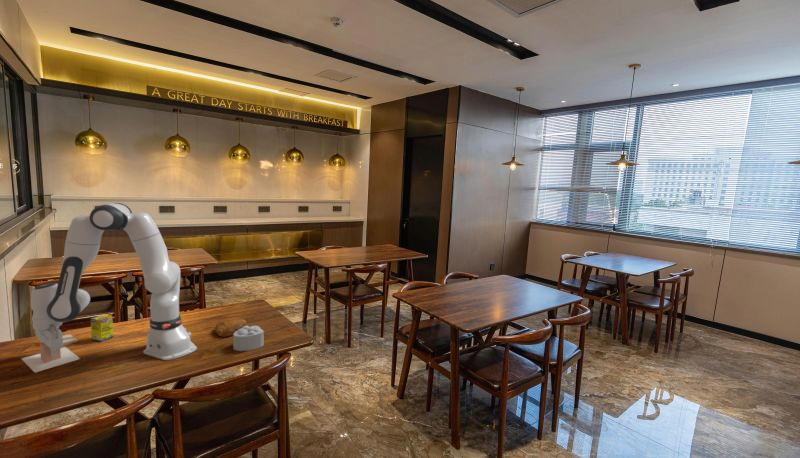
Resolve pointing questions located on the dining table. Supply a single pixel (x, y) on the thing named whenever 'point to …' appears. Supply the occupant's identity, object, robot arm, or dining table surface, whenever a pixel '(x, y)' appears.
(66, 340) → the coaster
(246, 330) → the lumpy-topped squat cylinder
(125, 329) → the dining table surface
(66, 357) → the mat
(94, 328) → the supplement box
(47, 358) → the terracotta block
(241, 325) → the croissant
